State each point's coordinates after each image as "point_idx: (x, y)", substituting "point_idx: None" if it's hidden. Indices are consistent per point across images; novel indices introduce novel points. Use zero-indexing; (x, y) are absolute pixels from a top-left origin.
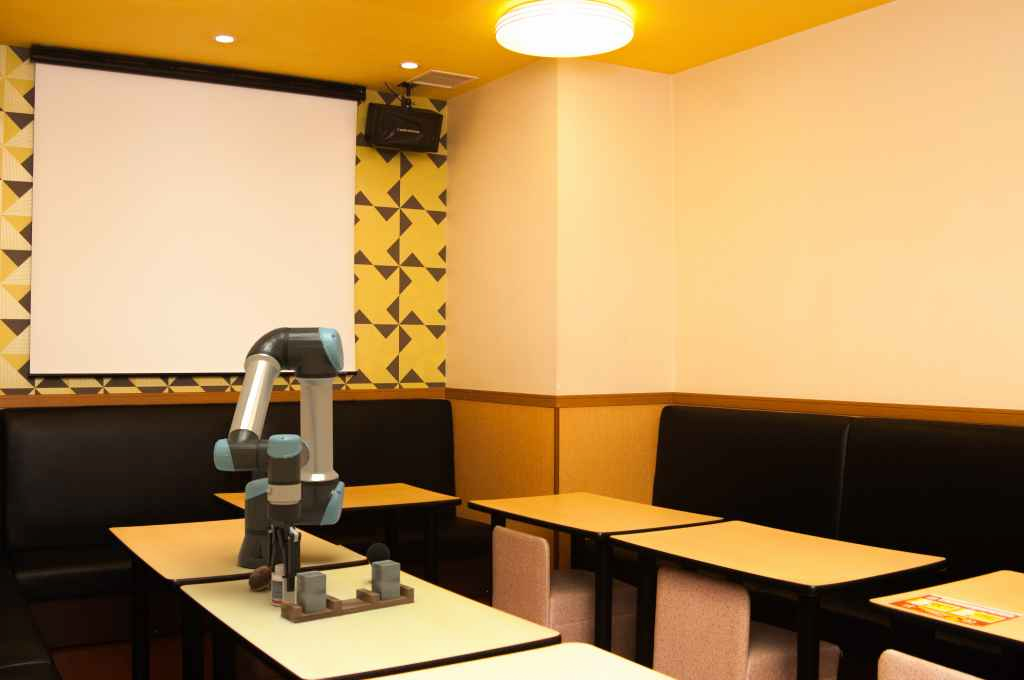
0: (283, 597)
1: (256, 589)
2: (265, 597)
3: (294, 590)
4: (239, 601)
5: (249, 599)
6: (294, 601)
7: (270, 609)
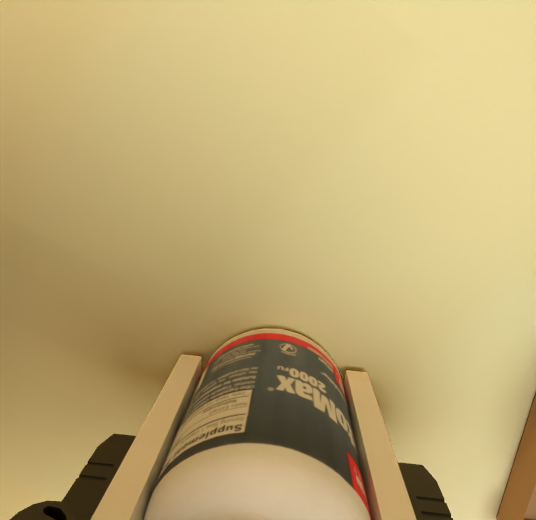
0: None
1: None
2: (63, 384)
3: (388, 443)
4: None
5: (60, 461)
6: (370, 386)
7: None
